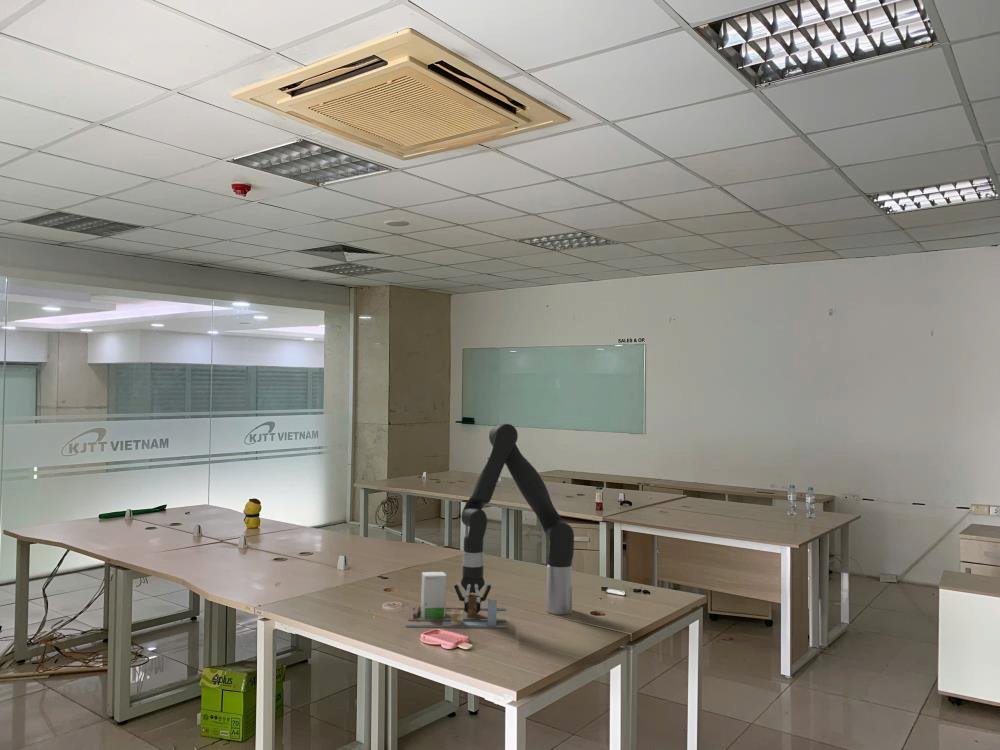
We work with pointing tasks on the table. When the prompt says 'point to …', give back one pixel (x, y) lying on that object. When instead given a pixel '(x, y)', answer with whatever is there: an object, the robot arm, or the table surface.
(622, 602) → the table surface
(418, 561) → the table surface
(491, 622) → the pale blue bent piece
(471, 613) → the walnut frame
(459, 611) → the beech cube
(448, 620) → the guide rails
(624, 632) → the table surface
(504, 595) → the table surface
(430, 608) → the skincare box
